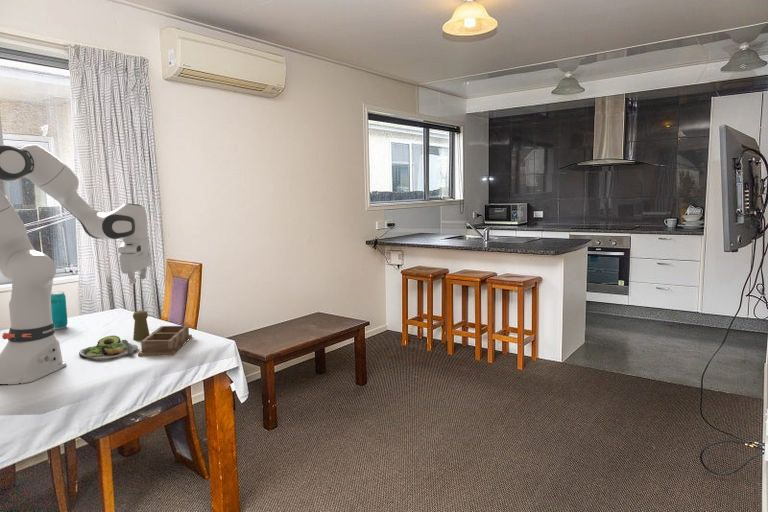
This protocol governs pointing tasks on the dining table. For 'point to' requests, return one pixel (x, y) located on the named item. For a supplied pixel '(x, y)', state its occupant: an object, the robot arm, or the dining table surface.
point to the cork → (140, 325)
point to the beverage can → (59, 310)
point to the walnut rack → (164, 341)
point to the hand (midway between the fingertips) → (138, 281)
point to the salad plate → (108, 349)
